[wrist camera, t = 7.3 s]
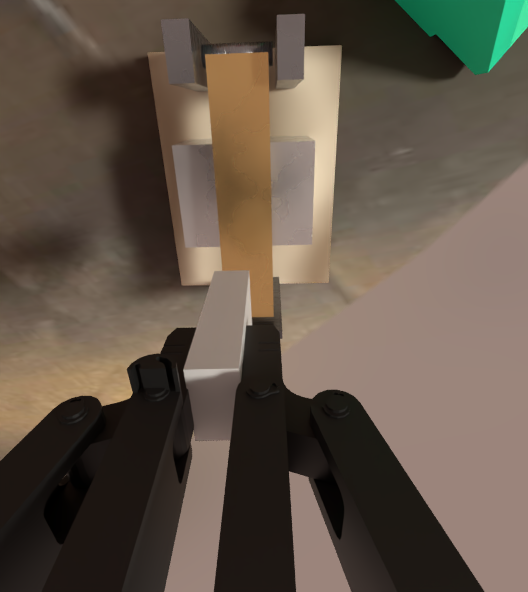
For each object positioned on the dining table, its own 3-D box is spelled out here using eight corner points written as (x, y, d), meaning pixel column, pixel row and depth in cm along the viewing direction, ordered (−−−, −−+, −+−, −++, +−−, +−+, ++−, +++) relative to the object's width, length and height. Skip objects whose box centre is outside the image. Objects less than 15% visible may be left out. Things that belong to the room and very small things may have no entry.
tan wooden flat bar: (224, 310, 24) (222, 317, 23) (203, 46, 18) (199, 41, 17) (276, 309, 24) (276, 316, 23) (272, 44, 18) (272, 38, 17)
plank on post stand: (205, 285, 30) (185, 340, 23) (178, 47, 22) (136, 17, 15) (303, 283, 29) (314, 337, 22) (309, 42, 22) (327, 10, 15)
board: (184, 279, 31) (181, 285, 30) (153, 55, 24) (147, 52, 22) (326, 276, 30) (328, 282, 29) (338, 48, 23) (341, 45, 22)
